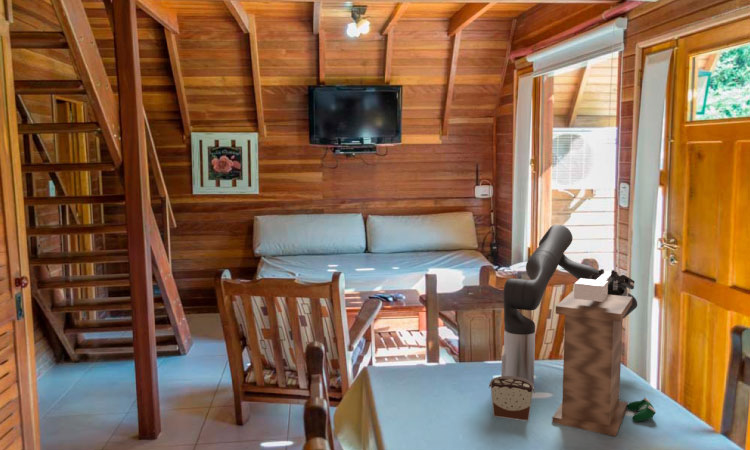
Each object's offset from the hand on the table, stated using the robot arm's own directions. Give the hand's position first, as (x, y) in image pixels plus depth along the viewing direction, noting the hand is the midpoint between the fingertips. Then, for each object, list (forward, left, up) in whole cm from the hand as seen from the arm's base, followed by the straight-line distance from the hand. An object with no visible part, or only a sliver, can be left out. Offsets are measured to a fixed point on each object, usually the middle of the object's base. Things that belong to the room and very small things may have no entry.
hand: (607, 272), depth 177 cm
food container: (-19, -27, -37) cm, 50 cm away
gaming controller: (+12, -11, -37) cm, 41 cm away
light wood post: (0, -11, -2) cm, 11 cm away
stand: (0, -17, -37) cm, 41 cm away
